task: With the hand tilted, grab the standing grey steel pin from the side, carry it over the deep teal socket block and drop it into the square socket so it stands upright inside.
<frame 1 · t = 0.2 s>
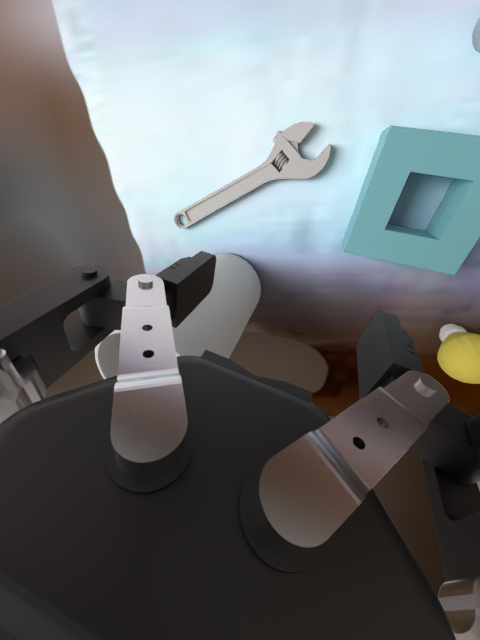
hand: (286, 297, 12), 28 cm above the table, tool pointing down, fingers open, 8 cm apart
socket block: (413, 202, 31), on the table
adjustable wrench: (241, 181, 36), on the table
light bulb: (448, 329, 38), on the table
cylinder vase: (229, 285, 45), on the table
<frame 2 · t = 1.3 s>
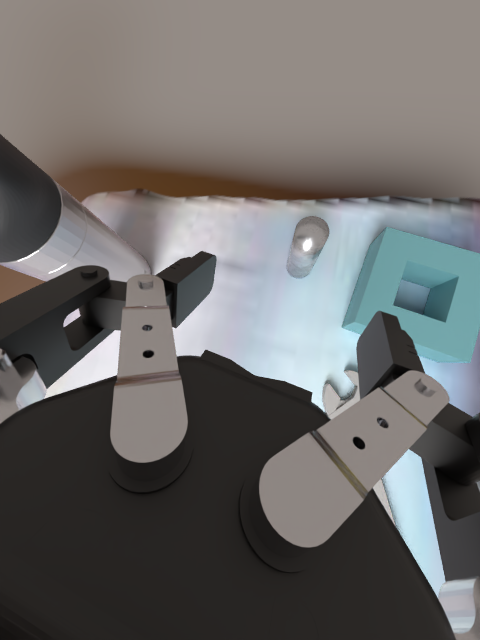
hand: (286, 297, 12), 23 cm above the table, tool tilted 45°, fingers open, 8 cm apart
socket block: (402, 300, 34), on the table
adjustable wrench: (358, 468, 32), on the table
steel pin: (299, 266, 36), on the table
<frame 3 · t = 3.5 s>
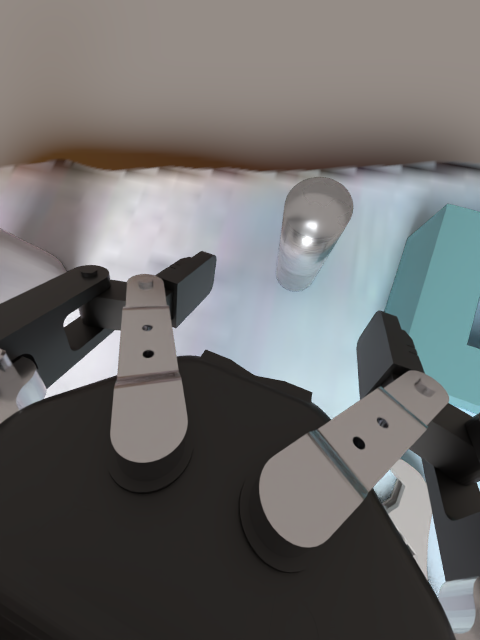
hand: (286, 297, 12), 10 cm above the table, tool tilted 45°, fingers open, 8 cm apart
socket block: (465, 328, 21), on the table
adjustable wrench: (407, 628, 18), on the table
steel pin: (295, 272, 23), on the table
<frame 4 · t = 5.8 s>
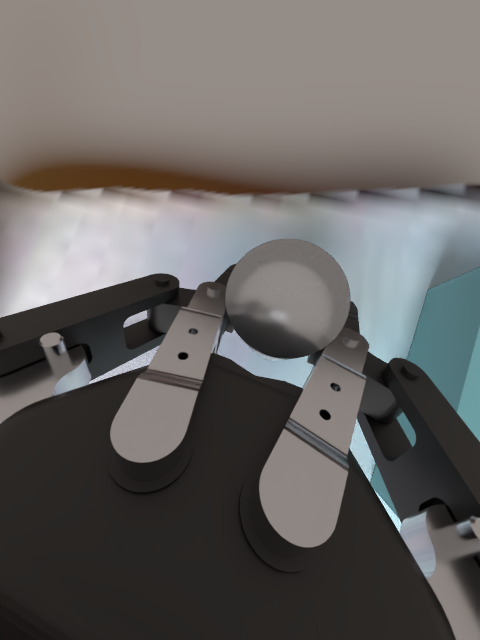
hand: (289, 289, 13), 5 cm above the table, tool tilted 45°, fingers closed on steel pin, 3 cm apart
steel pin: (274, 334, 17), on the table, touching gripper
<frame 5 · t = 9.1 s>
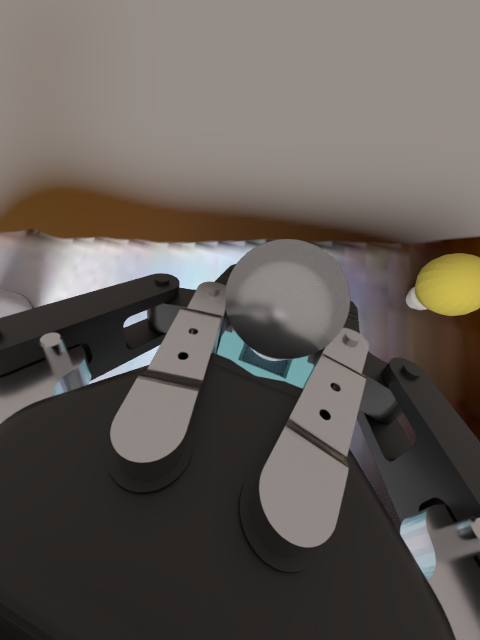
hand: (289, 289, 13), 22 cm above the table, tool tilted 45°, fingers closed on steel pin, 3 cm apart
socket block: (269, 347, 34), on the table
light bulb: (414, 300, 33), on the table
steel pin: (274, 334, 17), point 17 cm above the table, touching gripper
when the fingers open (6 cm above the table, at t = 12.6 s): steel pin drops 2 cm, resting in socket block.
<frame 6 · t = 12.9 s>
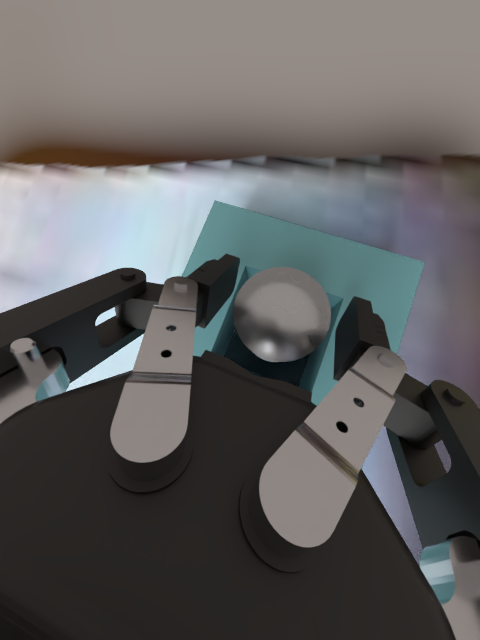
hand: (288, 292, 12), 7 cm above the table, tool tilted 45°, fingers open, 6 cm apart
socket block: (272, 337, 19), on the table
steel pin: (272, 338, 19), resting in socket block
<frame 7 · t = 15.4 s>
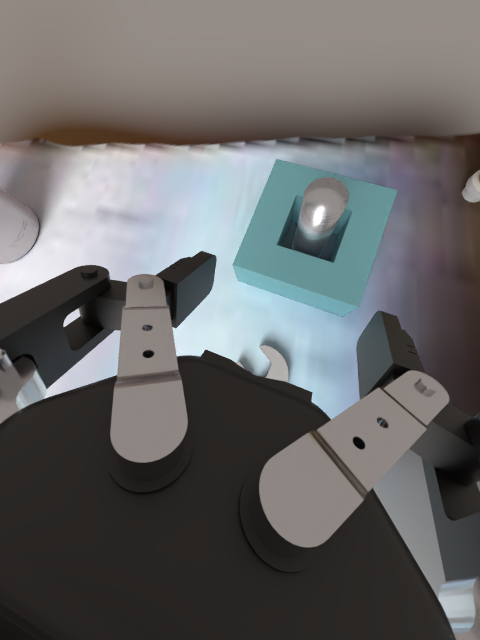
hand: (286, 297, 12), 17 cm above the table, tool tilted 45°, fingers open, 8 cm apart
socket block: (306, 249, 30), on the table
adjustable wrench: (275, 459, 27), on the table
light bulb: (471, 194, 29), on the table
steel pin: (306, 250, 30), resting in socket block
cylinder vase: (402, 507, 25), on the table
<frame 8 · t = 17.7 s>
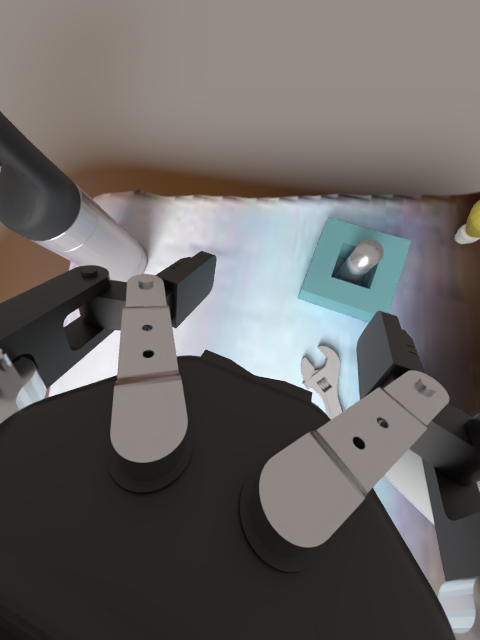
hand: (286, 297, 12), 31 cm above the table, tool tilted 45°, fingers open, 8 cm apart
socket block: (345, 276, 43), on the table
adjustable wrench: (332, 423, 40), on the table
light bulb: (461, 238, 42), on the table
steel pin: (345, 277, 43), resting in socket block
cylinder vase: (415, 449, 37), on the table
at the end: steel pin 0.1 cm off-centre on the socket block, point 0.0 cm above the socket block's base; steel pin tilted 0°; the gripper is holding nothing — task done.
